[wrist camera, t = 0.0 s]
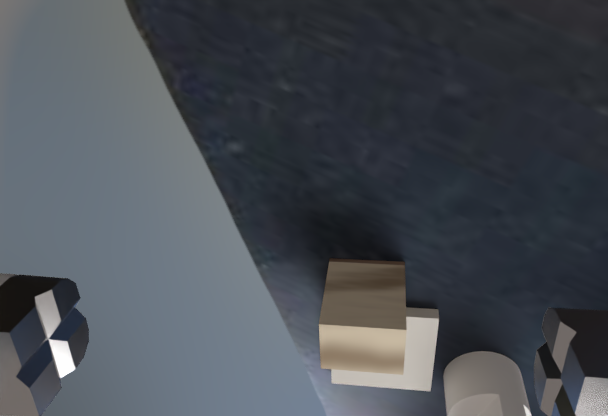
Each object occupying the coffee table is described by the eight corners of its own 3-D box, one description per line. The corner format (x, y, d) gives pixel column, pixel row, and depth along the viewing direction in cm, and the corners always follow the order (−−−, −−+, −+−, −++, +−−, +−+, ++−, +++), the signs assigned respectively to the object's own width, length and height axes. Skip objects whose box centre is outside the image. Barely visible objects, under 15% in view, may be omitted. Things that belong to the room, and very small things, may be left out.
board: (330, 302, 61) (329, 311, 60) (438, 309, 59) (439, 318, 58) (333, 373, 67) (331, 383, 66) (429, 381, 66) (430, 391, 64)
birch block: (329, 258, 58) (318, 324, 49) (404, 261, 56) (406, 330, 48) (330, 299, 61) (321, 368, 53) (401, 304, 60) (403, 374, 51)
